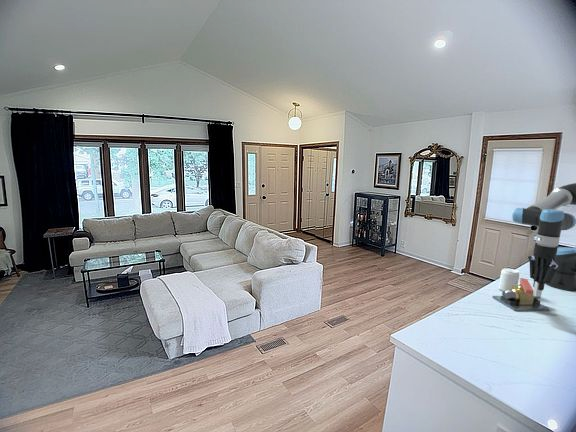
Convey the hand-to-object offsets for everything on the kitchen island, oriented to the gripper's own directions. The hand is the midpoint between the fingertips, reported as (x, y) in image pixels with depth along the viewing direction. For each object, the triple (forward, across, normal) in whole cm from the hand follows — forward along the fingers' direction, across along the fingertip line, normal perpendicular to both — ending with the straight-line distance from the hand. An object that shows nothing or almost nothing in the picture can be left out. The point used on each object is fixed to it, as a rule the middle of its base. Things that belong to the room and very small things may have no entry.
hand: (536, 295), depth 134 cm
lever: (+2, -8, +3) cm, 9 cm away
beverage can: (+11, -30, +14) cm, 35 cm away
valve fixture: (+11, -14, +7) cm, 20 cm away
